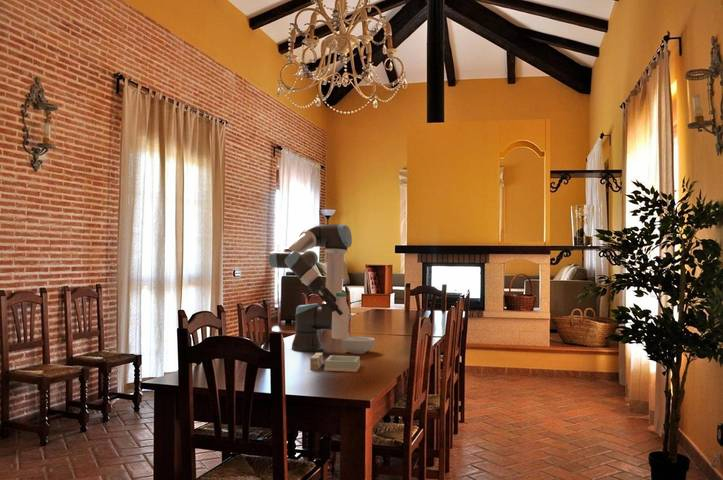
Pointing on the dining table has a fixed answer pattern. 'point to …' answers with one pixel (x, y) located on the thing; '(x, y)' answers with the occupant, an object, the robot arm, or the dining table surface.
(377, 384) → the dining table surface
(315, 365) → the board
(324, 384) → the dining table surface
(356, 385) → the dining table surface
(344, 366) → the cradle
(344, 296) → the milk bottle
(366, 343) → the cereal bowl
